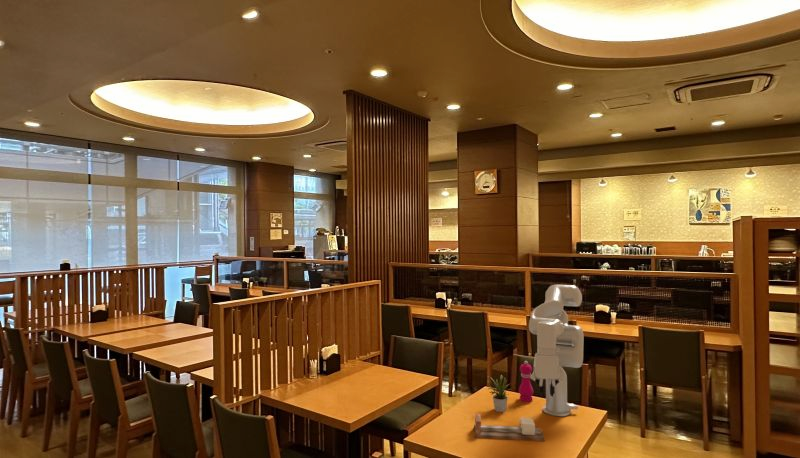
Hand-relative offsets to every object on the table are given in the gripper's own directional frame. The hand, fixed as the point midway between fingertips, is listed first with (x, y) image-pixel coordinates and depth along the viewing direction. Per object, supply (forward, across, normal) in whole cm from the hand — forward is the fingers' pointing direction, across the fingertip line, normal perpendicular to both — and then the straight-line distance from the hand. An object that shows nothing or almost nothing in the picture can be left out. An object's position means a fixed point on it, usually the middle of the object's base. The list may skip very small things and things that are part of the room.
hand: (546, 394), depth 190 cm
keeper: (+16, +8, 0) cm, 18 cm away
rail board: (+17, +16, 0) cm, 24 cm away
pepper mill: (+17, +2, -42) cm, 46 cm away
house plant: (+17, +17, -28) cm, 37 cm away
